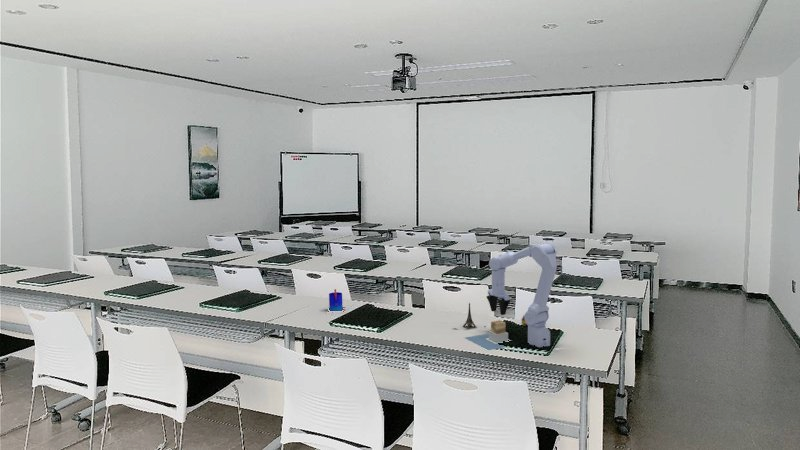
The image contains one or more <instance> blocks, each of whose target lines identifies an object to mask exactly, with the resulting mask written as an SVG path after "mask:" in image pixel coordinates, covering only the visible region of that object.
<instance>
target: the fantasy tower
mask: <svg viewBox="0 0 800 450" xmlns="http://www.w3.org/2000/svg"><path fill="white" fill-rule="evenodd" d="M328 302H329V303H328V306H329V307H328V308H329V310H330V311H342V310H344V311H346V309H343V308H346V307H345V306H343V293H342V292H338V291H337V289H336V288H334V292H330V293H328ZM344 311H343V312H344ZM328 312H329V311H328Z"/></svg>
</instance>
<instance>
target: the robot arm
mask: <svg viewBox="0 0 800 450" xmlns="http://www.w3.org/2000/svg"><path fill="white" fill-rule="evenodd" d="M557 253H558V251H557V250H556V247H555V246H554V244H553V243H550V242H546V243H543V244H534V245H530V246H527V247H525V248H523V249H520V250H519V251H517V252H514V251H512V250H508V251H506V252H505V253H504V254H499V255H498V256H497V257H495V256H494V257H492V258H491V259H490V260H489V262H488V266H489V268H490V269H491V289H488V290H487V296H486V299H487V301H488V304H489V307H490V311H491V312H496V311H497V304H498V305H499V312H500V313H499V314H500V315H501V316H504V315H506V314H507V313H506V312H507V309H508V307H509V304H510V303H511V299H510V295H509V294H508V293H506V290H505V287H506V284H505V282H506V281H505V278H506V275H505V273H506V269H507V268H508V267H511V266H514V265H515V264H517V263H518V262H519V260H522V259H523V258H527V257H529V258H532V259H533V260H534V261H535V262H536V264H538V266H540V267H541V273H540V276H539V281H538V284H537V288H536V291H535V295H534V299H533V302H532V303H531V304H530V305H529V307H528V308H527V311H526V312H525V313H524V319H525V322H526V323H527V324H526V325H527V343H529V344H528V345H531V346H534V345H535V347H537V348H544V347H550V346H551V330H550V329H549V328H547V326H546V325H547V321H548V319H549V318H550V315H549V310H550V308H549V306H548V305H547V304H548V300H549V298H550V293H551V291H552V287H553V283H554V280H555V276H556V272H557V268H558V266H557V258H556V257H557ZM543 346H544V347H543Z"/></svg>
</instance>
